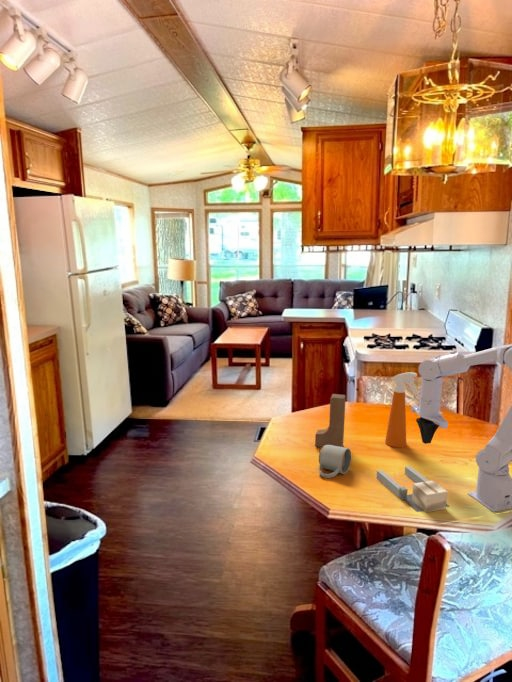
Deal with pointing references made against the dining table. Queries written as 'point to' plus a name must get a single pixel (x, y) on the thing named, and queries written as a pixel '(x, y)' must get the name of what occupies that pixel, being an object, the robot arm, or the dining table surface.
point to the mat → (412, 504)
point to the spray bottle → (399, 410)
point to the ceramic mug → (334, 460)
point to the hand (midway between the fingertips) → (426, 442)
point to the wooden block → (333, 424)
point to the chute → (395, 487)
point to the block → (429, 496)
